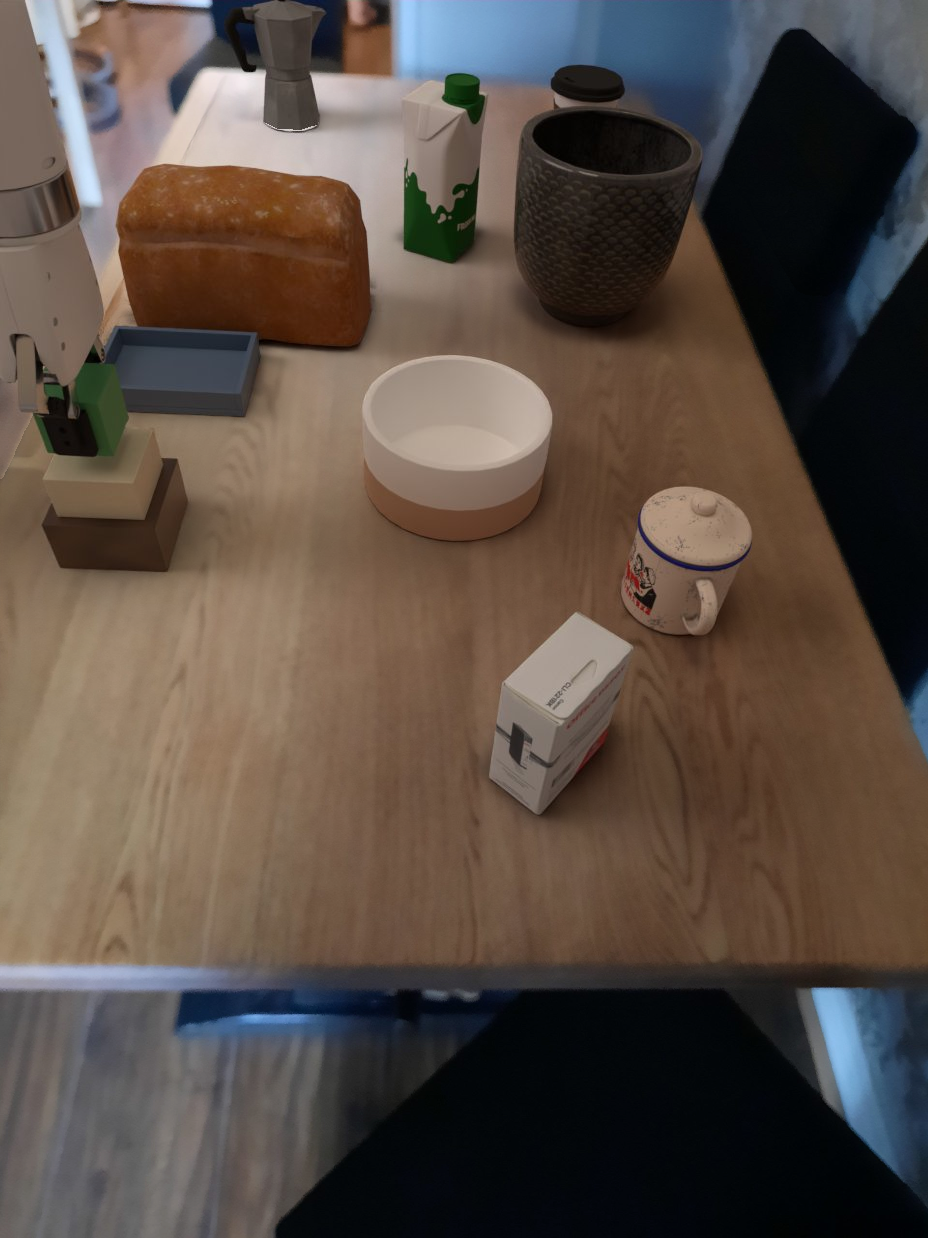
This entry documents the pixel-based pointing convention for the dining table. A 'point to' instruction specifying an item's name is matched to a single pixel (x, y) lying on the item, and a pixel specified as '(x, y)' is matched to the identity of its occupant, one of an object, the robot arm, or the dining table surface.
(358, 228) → the bread
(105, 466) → the cream block
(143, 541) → the walnut block
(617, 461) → the dining table surface
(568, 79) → the coffee cup
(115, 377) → the green block
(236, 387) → the tray
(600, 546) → the dining table surface
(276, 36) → the coffeepot
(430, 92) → the milk carton
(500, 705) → the ink box
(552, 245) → the planter
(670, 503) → the teacup with lid
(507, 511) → the bowl
